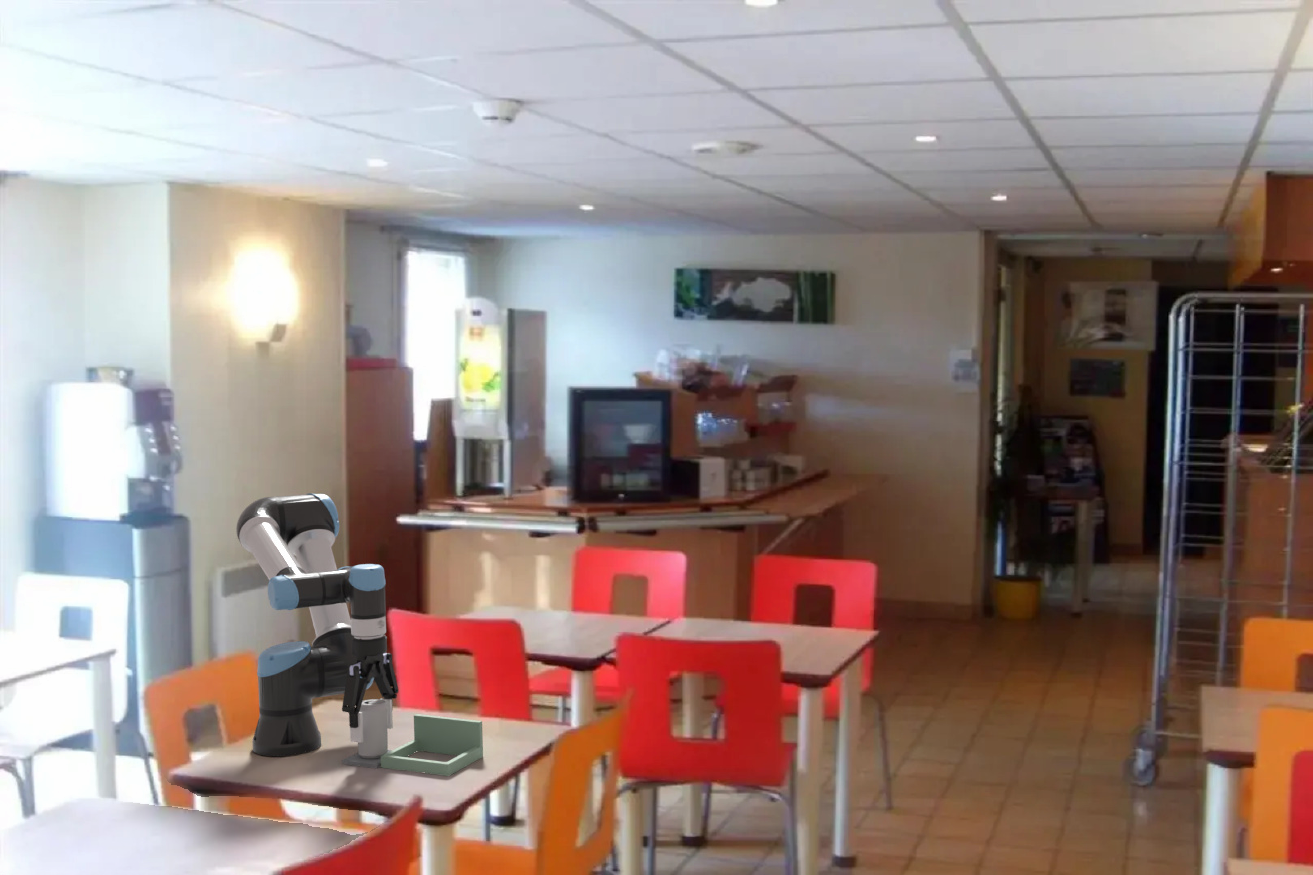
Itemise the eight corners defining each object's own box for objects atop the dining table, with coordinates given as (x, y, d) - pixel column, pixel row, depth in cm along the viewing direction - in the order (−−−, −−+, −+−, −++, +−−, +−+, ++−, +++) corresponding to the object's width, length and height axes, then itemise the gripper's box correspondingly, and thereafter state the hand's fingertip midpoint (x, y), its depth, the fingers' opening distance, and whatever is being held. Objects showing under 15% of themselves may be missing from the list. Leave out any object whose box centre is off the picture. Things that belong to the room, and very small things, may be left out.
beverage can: (363, 751, 301) (362, 698, 301) (391, 752, 300) (390, 698, 300) (354, 759, 295) (353, 704, 294) (383, 759, 294) (382, 705, 294)
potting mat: (342, 763, 295) (342, 760, 295) (369, 751, 304) (368, 747, 304) (376, 768, 291) (376, 764, 291) (402, 755, 301) (402, 751, 300)
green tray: (380, 767, 292) (379, 731, 291) (417, 748, 305) (416, 714, 305) (448, 776, 285) (447, 738, 285) (483, 756, 298) (482, 721, 298)
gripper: (351, 647, 284) (355, 751, 285) (412, 626, 305) (415, 722, 306) (322, 645, 287) (325, 747, 288) (384, 624, 308) (387, 719, 309)
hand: (372, 734), depth 297 cm, fingers open, 10 cm apart
